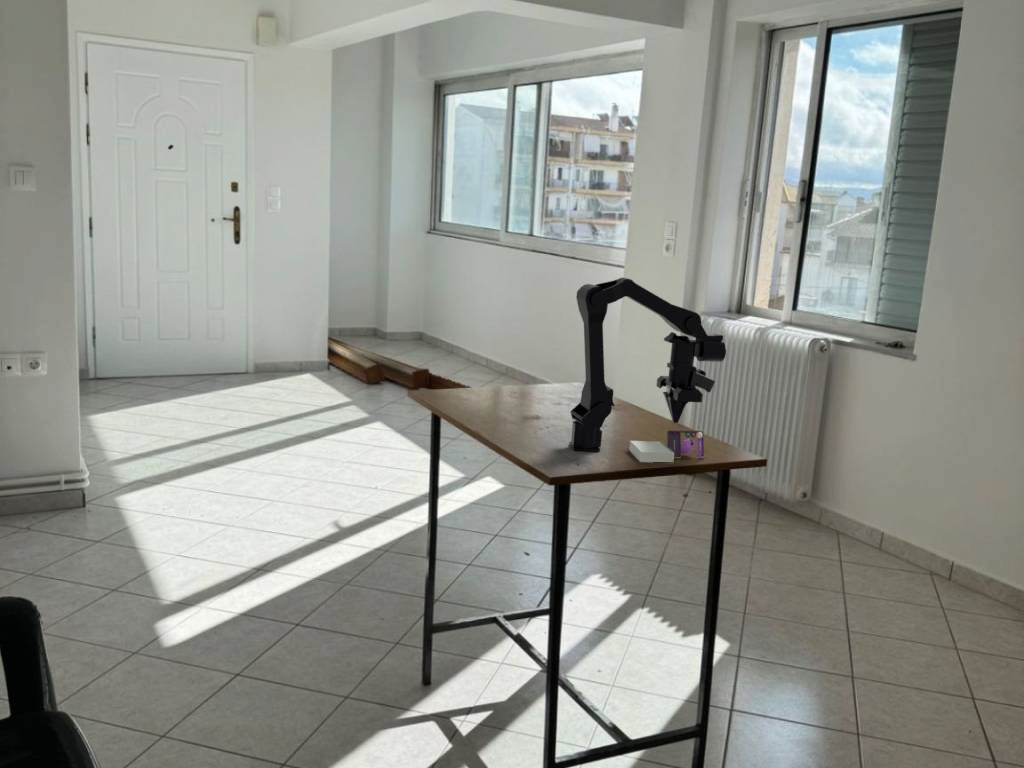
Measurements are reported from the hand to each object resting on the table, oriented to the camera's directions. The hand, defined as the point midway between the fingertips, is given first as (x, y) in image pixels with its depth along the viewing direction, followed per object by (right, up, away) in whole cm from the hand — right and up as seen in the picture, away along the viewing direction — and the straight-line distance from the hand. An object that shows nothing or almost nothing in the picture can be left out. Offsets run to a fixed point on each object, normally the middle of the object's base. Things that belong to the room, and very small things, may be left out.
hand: (675, 422), depth 235 cm
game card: (+1, -8, -6) cm, 10 cm away
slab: (-7, -8, -9) cm, 14 cm away
